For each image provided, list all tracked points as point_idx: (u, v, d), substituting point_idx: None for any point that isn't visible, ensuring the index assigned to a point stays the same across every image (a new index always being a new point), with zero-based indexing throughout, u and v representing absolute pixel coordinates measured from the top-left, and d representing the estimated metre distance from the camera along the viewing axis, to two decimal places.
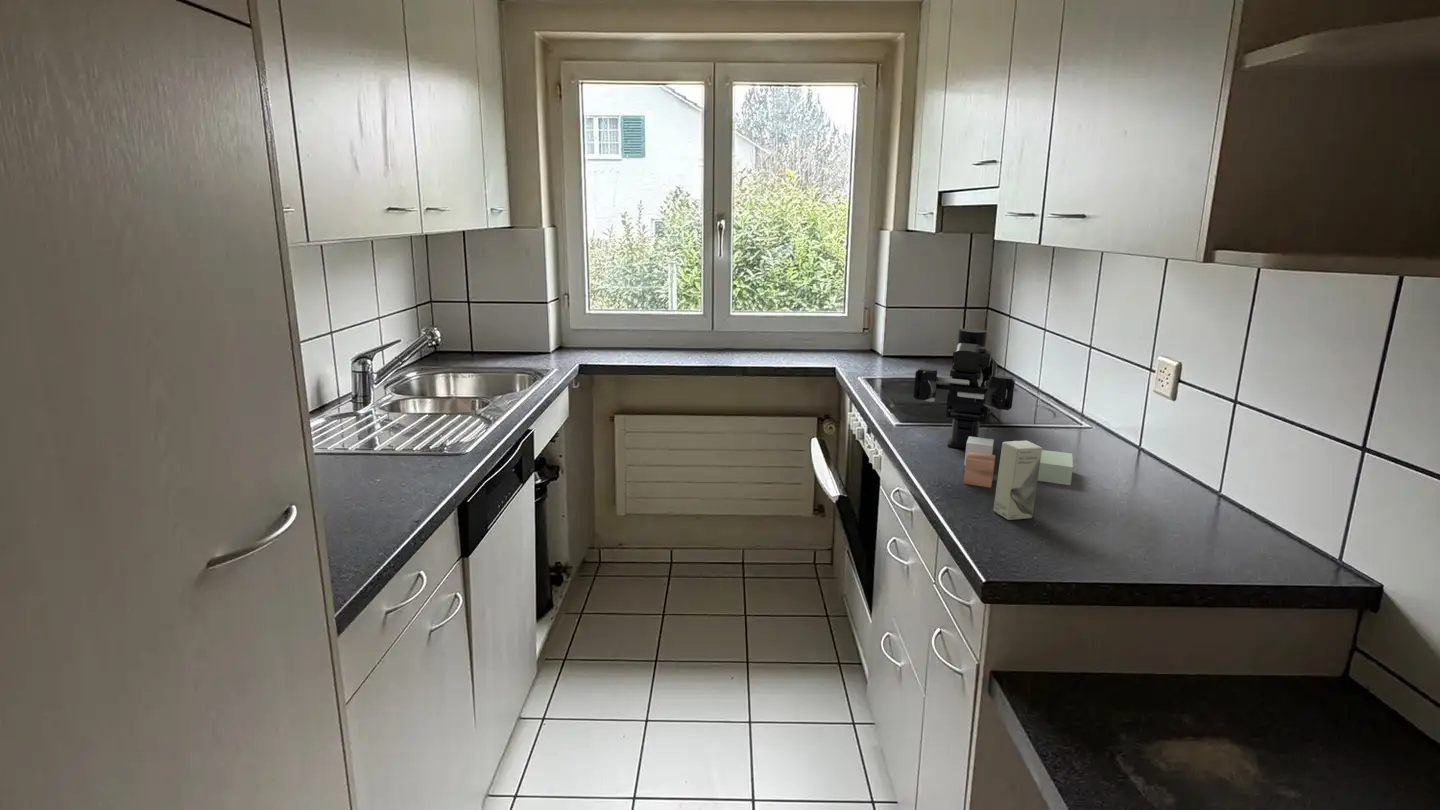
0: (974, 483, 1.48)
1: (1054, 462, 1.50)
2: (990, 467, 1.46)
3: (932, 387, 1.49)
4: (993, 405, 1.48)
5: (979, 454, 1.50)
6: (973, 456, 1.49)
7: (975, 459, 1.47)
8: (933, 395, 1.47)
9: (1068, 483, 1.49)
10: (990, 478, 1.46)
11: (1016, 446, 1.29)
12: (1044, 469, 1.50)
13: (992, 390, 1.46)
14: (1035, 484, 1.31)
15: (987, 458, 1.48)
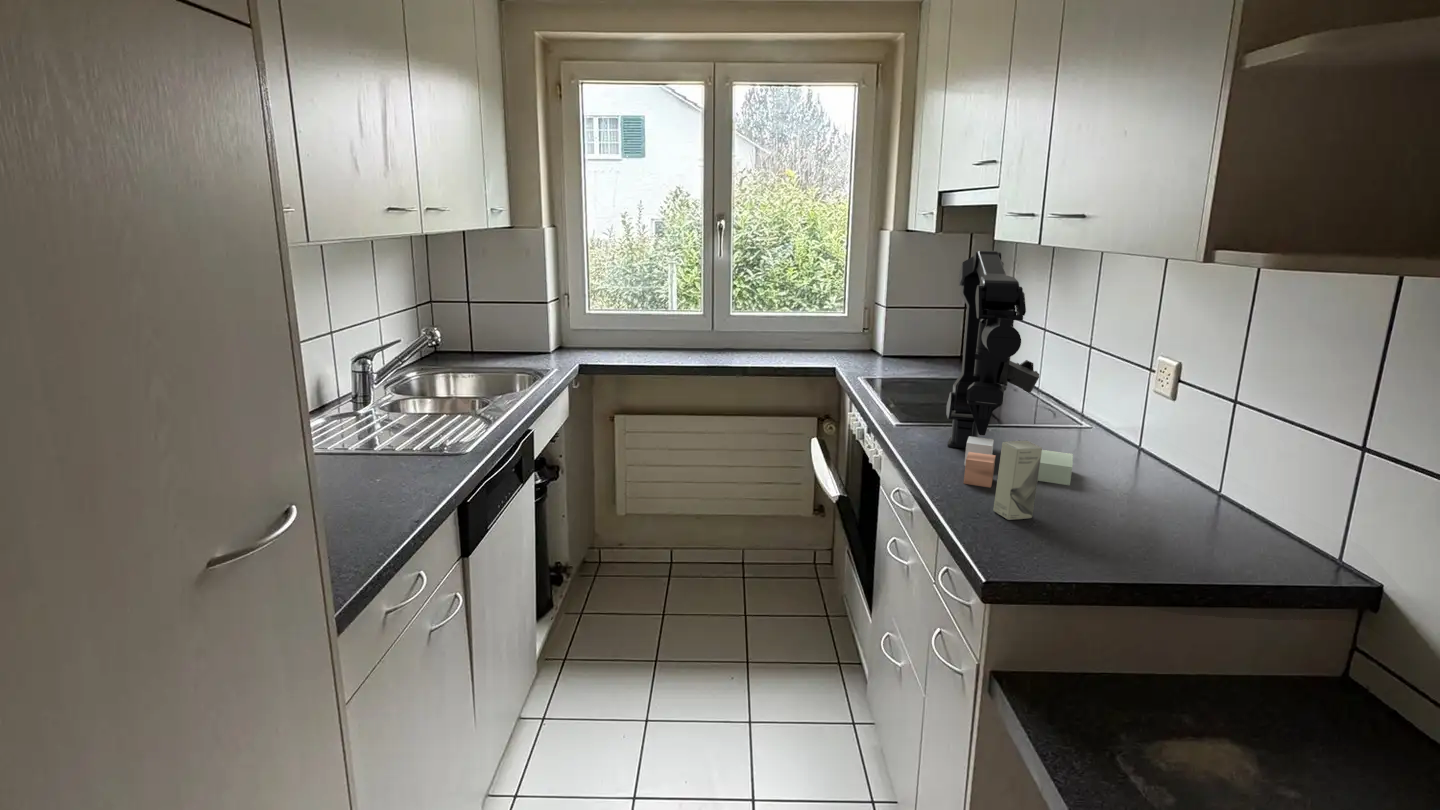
0: (974, 483, 1.48)
1: (1053, 462, 1.50)
2: (990, 467, 1.46)
3: None
4: None
5: (979, 454, 1.50)
6: (973, 456, 1.49)
7: (975, 459, 1.47)
8: (981, 434, 1.43)
9: (1067, 483, 1.49)
10: (990, 478, 1.46)
11: (1016, 446, 1.29)
12: (1043, 469, 1.50)
13: None
14: (1035, 484, 1.31)
15: (987, 458, 1.48)
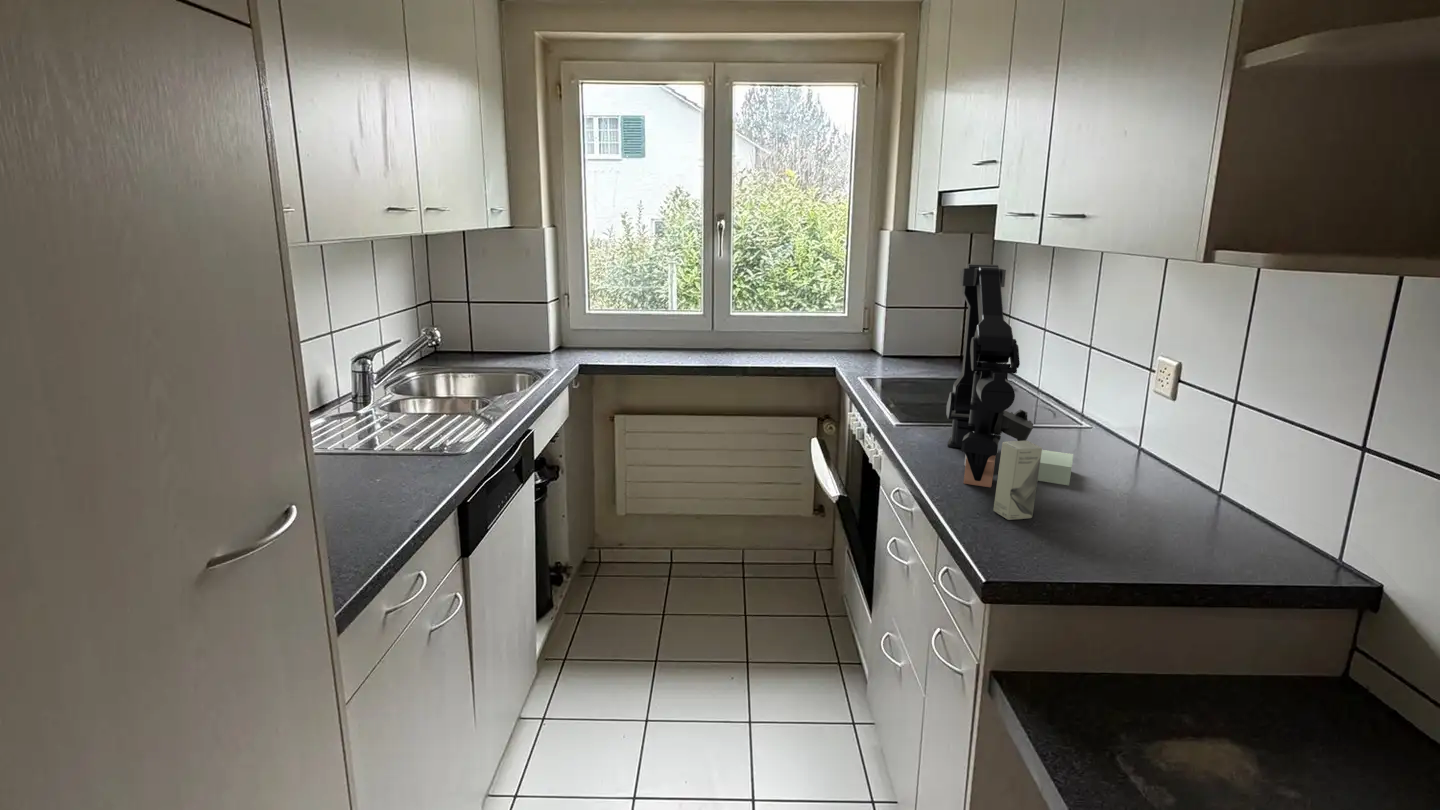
0: (974, 482, 1.48)
1: (1053, 462, 1.50)
2: (990, 466, 1.46)
3: (983, 470, 1.46)
4: None
5: None
6: None
7: None
8: (977, 480, 1.47)
9: (1067, 483, 1.49)
10: (990, 477, 1.46)
11: (1016, 446, 1.29)
12: (1042, 469, 1.50)
13: None
14: (1035, 484, 1.31)
15: None
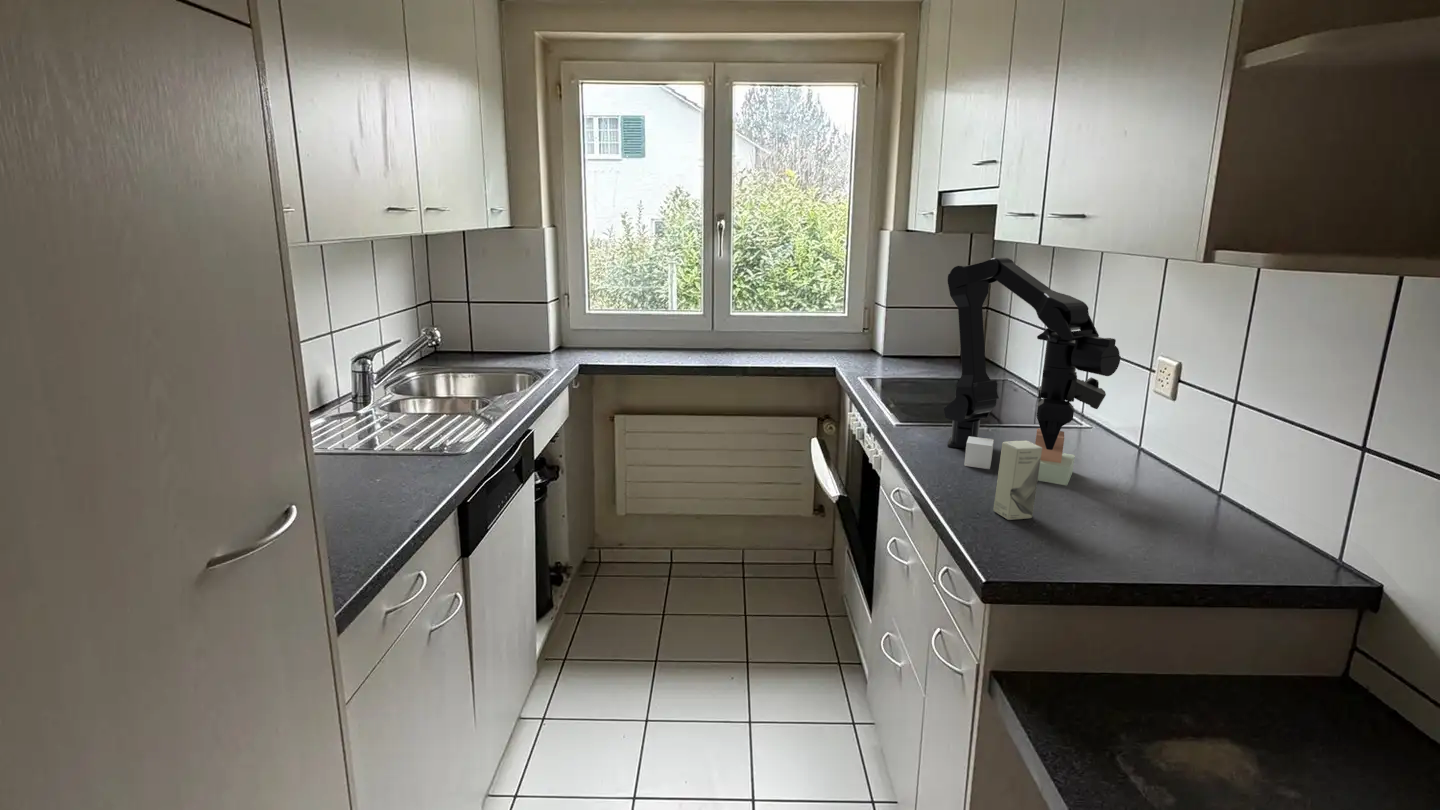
0: (1044, 458, 1.51)
1: (1052, 462, 1.50)
2: (1061, 442, 1.49)
3: None
4: None
5: None
6: None
7: None
8: (1049, 449, 1.49)
9: (1065, 483, 1.49)
10: (1060, 453, 1.50)
11: (1016, 446, 1.29)
12: (1040, 469, 1.50)
13: None
14: (1035, 484, 1.31)
15: None
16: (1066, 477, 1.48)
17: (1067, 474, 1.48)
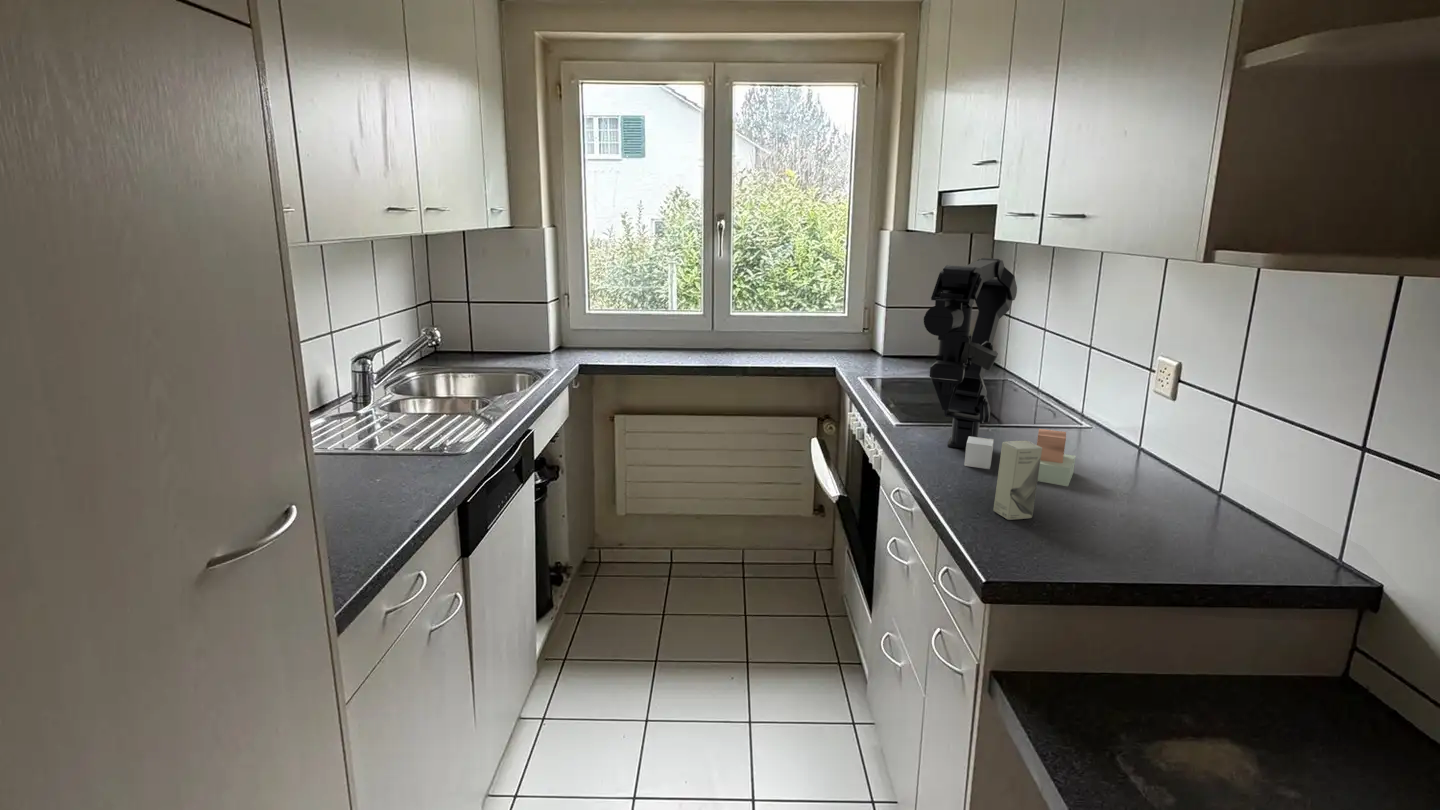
0: (1046, 458, 1.51)
1: (1052, 463, 1.50)
2: (1062, 442, 1.49)
3: (950, 400, 1.53)
4: None
5: (1050, 431, 1.54)
6: (1044, 432, 1.53)
7: (1046, 435, 1.51)
8: (944, 409, 1.55)
9: (1065, 484, 1.48)
10: (1062, 453, 1.50)
11: (1016, 446, 1.29)
12: (1041, 470, 1.50)
13: None
14: (1035, 484, 1.31)
15: (1058, 434, 1.51)
16: (1067, 478, 1.48)
17: (1068, 475, 1.48)
